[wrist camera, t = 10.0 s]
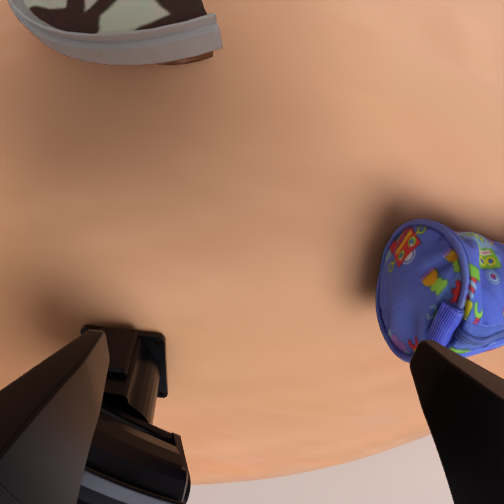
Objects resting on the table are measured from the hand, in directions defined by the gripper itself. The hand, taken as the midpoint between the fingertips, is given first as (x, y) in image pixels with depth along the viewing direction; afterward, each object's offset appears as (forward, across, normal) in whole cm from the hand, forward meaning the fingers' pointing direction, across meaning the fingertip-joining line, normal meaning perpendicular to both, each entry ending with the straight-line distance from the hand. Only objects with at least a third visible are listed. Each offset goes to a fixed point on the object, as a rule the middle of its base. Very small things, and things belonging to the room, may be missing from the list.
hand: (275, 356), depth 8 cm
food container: (+12, +8, -12) cm, 19 cm away
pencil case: (+12, -20, +2) cm, 24 cm away
